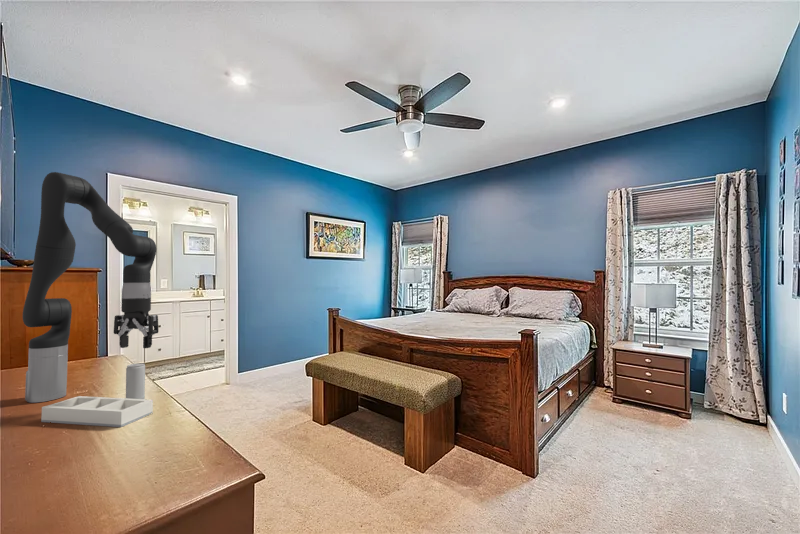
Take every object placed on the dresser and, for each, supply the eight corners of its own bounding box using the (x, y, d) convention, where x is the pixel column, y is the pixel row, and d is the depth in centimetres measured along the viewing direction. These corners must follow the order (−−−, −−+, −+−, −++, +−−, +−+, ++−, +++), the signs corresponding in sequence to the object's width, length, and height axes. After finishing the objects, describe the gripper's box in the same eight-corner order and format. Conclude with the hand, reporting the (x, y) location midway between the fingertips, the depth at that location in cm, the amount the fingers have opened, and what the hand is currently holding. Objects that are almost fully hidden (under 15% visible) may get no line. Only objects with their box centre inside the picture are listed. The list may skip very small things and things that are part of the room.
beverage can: (148, 400, 111) (149, 363, 112) (135, 405, 106) (136, 366, 107) (134, 400, 112) (135, 362, 112) (121, 405, 107) (122, 366, 107)
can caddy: (41, 421, 94) (41, 407, 95) (78, 409, 104) (78, 396, 104) (121, 427, 90) (121, 411, 90) (152, 413, 99) (152, 399, 100)
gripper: (106, 297, 108) (105, 349, 107) (145, 297, 106) (144, 350, 105) (128, 296, 115) (127, 345, 115) (165, 296, 113) (164, 345, 112)
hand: (135, 347), depth 110 cm, fingers open, 8 cm apart
